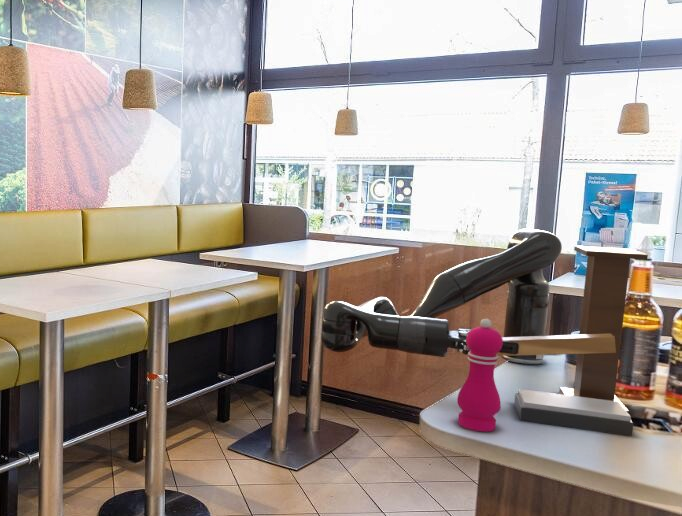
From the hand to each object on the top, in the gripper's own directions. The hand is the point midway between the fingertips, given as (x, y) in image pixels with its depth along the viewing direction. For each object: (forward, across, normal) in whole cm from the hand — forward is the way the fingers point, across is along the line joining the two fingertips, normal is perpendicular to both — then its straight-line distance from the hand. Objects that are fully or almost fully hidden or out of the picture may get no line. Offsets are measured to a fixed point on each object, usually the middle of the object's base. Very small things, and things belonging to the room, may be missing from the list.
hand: (516, 346), depth 135 cm
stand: (+16, -12, -13) cm, 24 cm away
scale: (+10, 0, -13) cm, 17 cm away
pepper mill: (-7, +12, -13) cm, 19 cm away
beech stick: (+5, 0, -1) cm, 5 cm away
